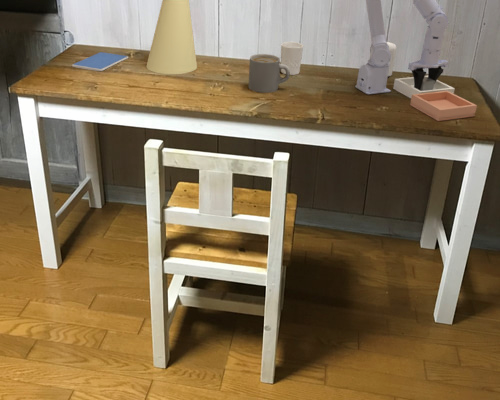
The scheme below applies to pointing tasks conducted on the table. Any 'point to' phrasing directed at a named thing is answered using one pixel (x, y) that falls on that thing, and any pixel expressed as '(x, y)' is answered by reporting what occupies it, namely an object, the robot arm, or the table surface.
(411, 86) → the tub
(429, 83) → the gray cube
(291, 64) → the white cup
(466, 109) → the bin
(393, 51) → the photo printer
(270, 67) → the coffee mug
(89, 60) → the blue notebook
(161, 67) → the cone light
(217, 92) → the table surface
